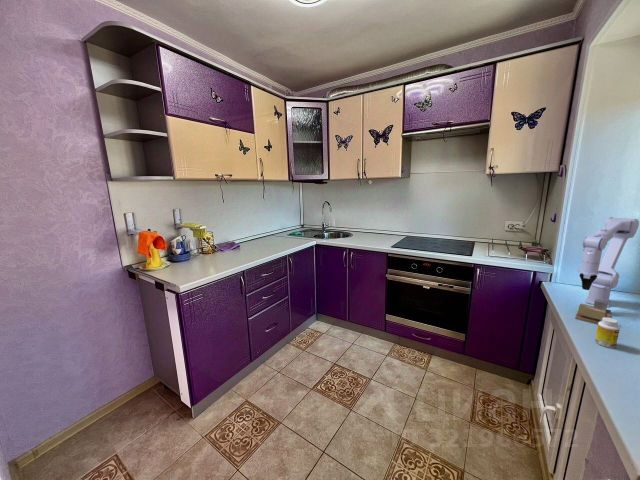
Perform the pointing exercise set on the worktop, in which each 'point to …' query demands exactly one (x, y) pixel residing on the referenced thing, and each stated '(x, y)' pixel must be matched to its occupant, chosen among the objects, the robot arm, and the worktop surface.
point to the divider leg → (591, 312)
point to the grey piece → (600, 305)
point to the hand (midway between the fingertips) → (585, 289)
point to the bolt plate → (589, 319)
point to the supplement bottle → (607, 332)
